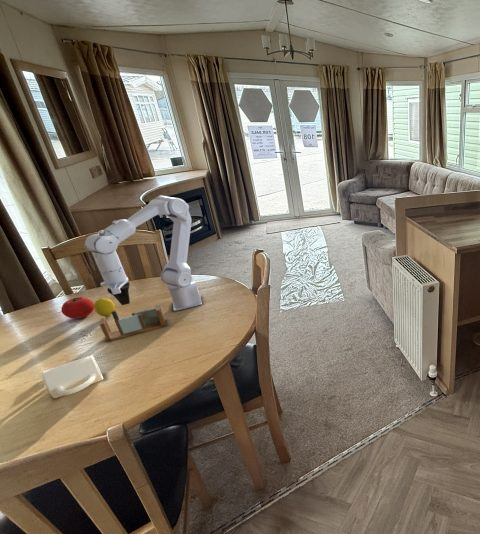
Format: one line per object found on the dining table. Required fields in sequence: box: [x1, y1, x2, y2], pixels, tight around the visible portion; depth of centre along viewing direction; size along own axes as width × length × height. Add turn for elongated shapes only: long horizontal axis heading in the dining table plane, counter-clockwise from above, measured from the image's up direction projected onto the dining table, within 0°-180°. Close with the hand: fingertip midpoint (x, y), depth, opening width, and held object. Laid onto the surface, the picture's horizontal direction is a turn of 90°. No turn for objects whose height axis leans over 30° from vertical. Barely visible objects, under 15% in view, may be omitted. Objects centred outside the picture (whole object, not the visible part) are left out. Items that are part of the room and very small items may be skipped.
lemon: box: [94, 297, 116, 318], centre depth 128 cm, size 6×6×8 cm
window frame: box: [99, 305, 166, 342], centre depth 121 cm, size 16×4×7 cm, turn 128°
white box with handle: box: [41, 354, 104, 399], centre depth 94 cm, size 12×10×8 cm
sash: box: [111, 310, 146, 335], centre depth 119 cm, size 7×1×9 cm, turn 128°
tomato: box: [60, 296, 95, 319], centre depth 128 cm, size 9×9×8 cm
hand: (125, 303), depth 119 cm, fingers closed
